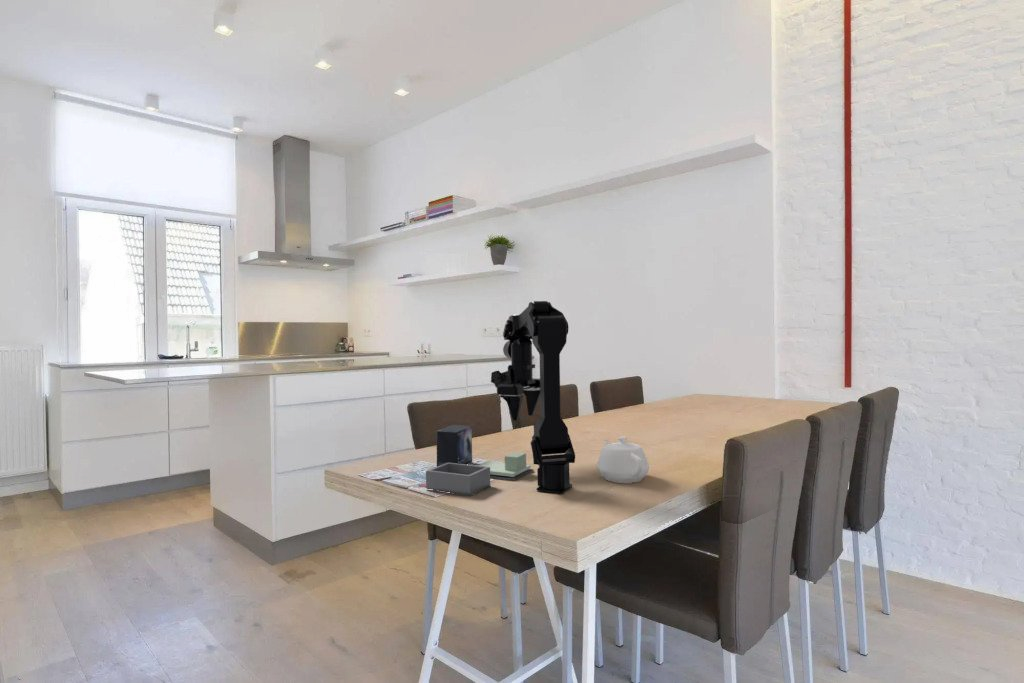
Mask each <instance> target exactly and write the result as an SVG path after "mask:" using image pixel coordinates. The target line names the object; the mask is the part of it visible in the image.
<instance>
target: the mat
mask: <svg viewBox="0 0 1024 683" xmlns="http://www.w3.org/2000/svg"><path fill="white" fill-rule="evenodd" d="M531 471H532V472H533V471H534V469H533V468H530V469H528V470H526V471H524V472H522V473H520V474H518V475H516V476H514V477H509V476H501V475H492V474H490V479H492V478H494V480H503V481H510V482H515V481H516V480H518V479H521V478H522V477H524V476H526V475H528V474H530V473H531Z"/></svg>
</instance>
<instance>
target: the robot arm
mask: <svg viewBox="0 0 1024 683" xmlns="http://www.w3.org/2000/svg"><path fill="white" fill-rule="evenodd" d="M503 328H504V329H503V332H502V336H503V340H505V341H506V342H505V343H504V345H503V347H502V348H503V349H502V351H503V356H505V357H506V358H508V359H509V360H510V361H511V362H510V364H509V365H508V366H507V370H506V371H503V372H501V371H499V370H494V371H492V372H491V375H490V376H491V377H490V383H492V384H494V386H495V388H496V395H498V396H499V397H500V398H501V399H503V400H504V401H505V402H506V404H507V406H508V409H509V411H510V415H511V418H512V420H513V421H518V420H519V416H520V412H521V408H522V404H523V400H524V396H525V400H526V407H527V408H526V409H527V414H528V416H533V415H534V413H535V410H536V407H537V405H538V403H539V402H540V403H539V404H540V406H539V407H540V416H539V418H538V420H537V421H535V422H534V424H533V435H532V436H531V441H530V448H531V452H532V459H533V460H532V462H533V465H537V466H538V468H537V471H536V472H537V477H536V478H537V486H538V487H536V489H535V490H536V491H538V492H543V493H544V492H545V493H552V494H561V495H562V494H564V493H566V492H567V491H568V490H571V489H572V488H573V484H572V483H571V484H570V481H571V480H570V478H571V477H570V464H575V462H576V454H575V453H576V452H575V449H574V446H573V443H572V440H571V437H570V435H569V429H568V426H567V425H566V423H565V422H564V420H563V419H562V417H561V416H562V414H561V412H562V411H561V409H562V408H561V367H560V366H561V362H560V361H561V360H560V358H561V356H560V355H561V353H562V351H563V350H564V347H565V345H566V344H567V339H568V337H567V336H568V334H569V323H568V320H567V318H566V317H565V315H564V313H563V312H562V311H560V310H558V309H557V308H555V307H553V305H552V303H551V302H550V301H547V300H532V301H530V302H529V303H528V306H527V307H526V308H525V309H524V310H523V311H522V312H521V313H519V314H512V315H510V316H509V317H508V319H507V320H506V322H505V324H504V327H503ZM533 346H534V347H535V349H536V351H537V352H538V354H539V378H536V377H535V378H534V377H533V376H534V375H533V369H536V364H535V363H533Z"/></svg>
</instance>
